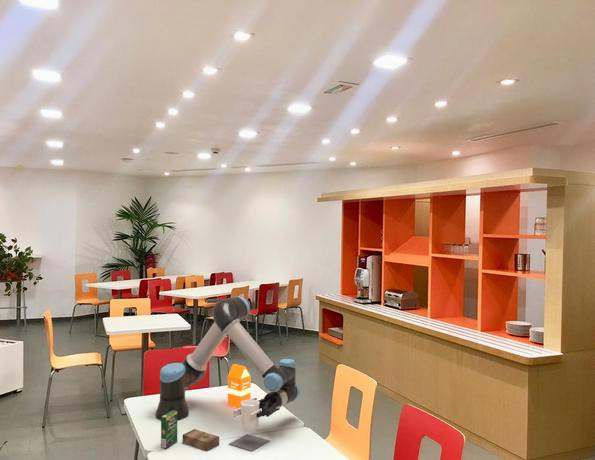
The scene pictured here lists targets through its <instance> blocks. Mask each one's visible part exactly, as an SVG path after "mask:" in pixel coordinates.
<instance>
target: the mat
mask: <svg viewBox="0 0 595 460" xmlns="http://www.w3.org/2000/svg"><path fill="white" fill-rule="evenodd" d="M269 442H270V439H266V438H262V437H259V436H257V435H253V434H249V433H246V434H244V435H243V436H240V437H238V438H236V439H235V440H233V441H231V442H230V443H228V445H229V446H232V447H235V448H238V449H242V450H244V451H248V452H251V453H252V452H254V451H255V450H258V449H259V448H261V447H262V446H264V445H266V444H267V443H269Z"/></svg>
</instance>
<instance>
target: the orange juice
mask: <svg viewBox="0 0 595 460" xmlns="http://www.w3.org/2000/svg"><path fill="white" fill-rule="evenodd" d="M251 380H252V377H251V374H250V373H249V371H248V369H247V367H246V366H245V365H241V364H240V365H239V364H236V363H232V366H231V368H230V370H229V373H228V375H227V405H228V406H231V407H234V408H236V409H238V408H240V404H241V402H242V401H244V400H250V399H251V396H252V394H251V393H252V389H251V388H252V387H251V386H252V385H251V383H252V382H251Z"/></svg>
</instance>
